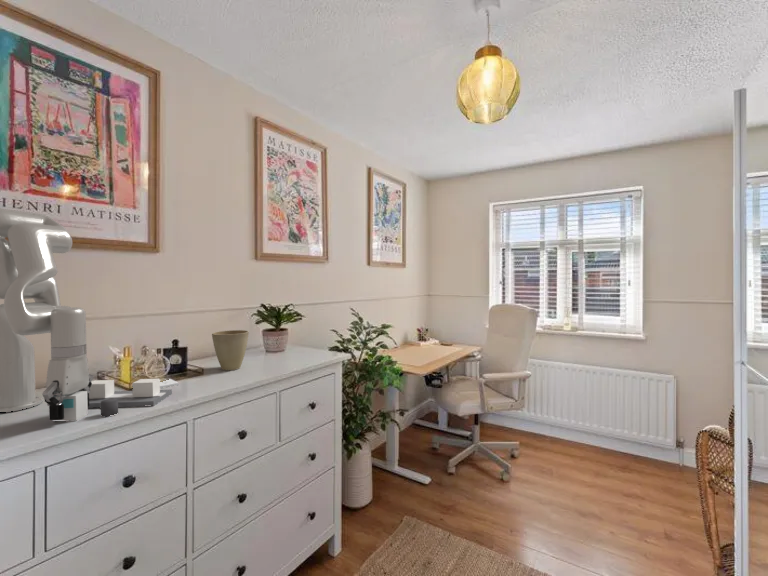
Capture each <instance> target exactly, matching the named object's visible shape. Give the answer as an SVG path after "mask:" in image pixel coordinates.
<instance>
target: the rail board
mask: <svg viewBox="0 0 768 576" xmlns="http://www.w3.org/2000/svg"><path fill="white" fill-rule="evenodd" d="M160 381H161V378H139V379H138V380H136V381H133V382H132V386H131V388H132V387H133V389H132V390H119V391H118V390H117V391H115V380H114V379H102V380H101V379H99V380H98V379H97V380H92V385H91V387H90V392H89V406H88V409H93V408H92V407H101V401H103V400H107V399H118V408H132V407H133V406H141V407H146V406H145V405H154V406H156V405H158V404H159V403H161V402H162V401H163V400H165V399H166V397H167V398H168V397H169V395H170V396H171V395H172V394H173V393H172V392H173V390H172V389H160ZM161 400H162V401H161ZM158 402H159V403H158ZM155 404H156V405H155ZM133 408H134V407H133Z"/></svg>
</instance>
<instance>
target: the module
mask: <svg viewBox="0 0 768 576" xmlns="http://www.w3.org/2000/svg"><path fill="white" fill-rule="evenodd" d="M56 399H57V400H58V399H59V397H56ZM62 404H64V419H62V420H77V419H79V418H81V417H83V416H85V415H87V414H89V413H88V411H89V408H88V402H87V391H77V392H74V393H72V394H69V395H67V396H65V398H64V400H63V402H62ZM87 416H88V415H87ZM85 417H86V416H85ZM83 418H84V417H83ZM81 419H82V418H81ZM79 420H80V419H79ZM77 421H78V420H77Z"/></svg>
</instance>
